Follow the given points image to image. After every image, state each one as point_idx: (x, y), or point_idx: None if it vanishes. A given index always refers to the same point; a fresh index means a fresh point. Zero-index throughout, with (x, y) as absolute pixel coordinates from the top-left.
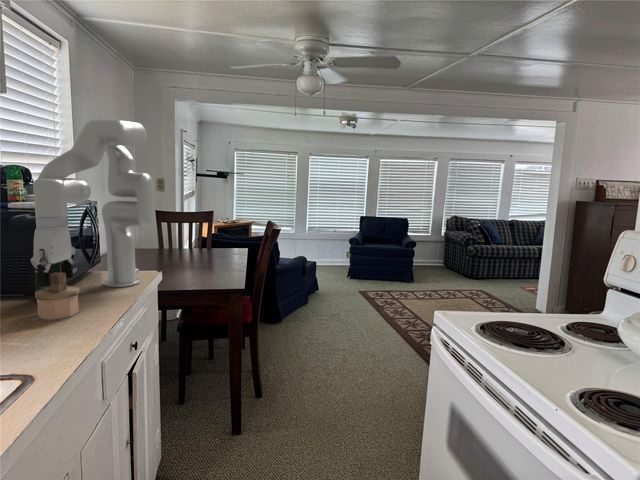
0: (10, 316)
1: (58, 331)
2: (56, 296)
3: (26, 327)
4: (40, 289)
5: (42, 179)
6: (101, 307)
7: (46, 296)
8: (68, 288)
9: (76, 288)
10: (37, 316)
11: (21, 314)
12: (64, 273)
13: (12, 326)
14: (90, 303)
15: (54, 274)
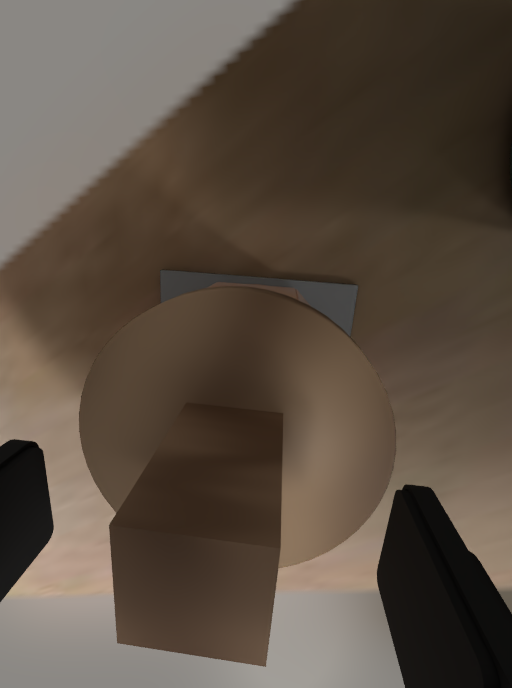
0: (233, 92)
1: (70, 457)
2: (109, 493)
3: (86, 307)
4: None
5: None
6: (385, 497)
7: (84, 441)
8: (303, 494)
9: (302, 545)
10: (215, 278)
11: (272, 139)
12: (243, 657)
13: (87, 230)
14: (467, 424)
15: (157, 590)
